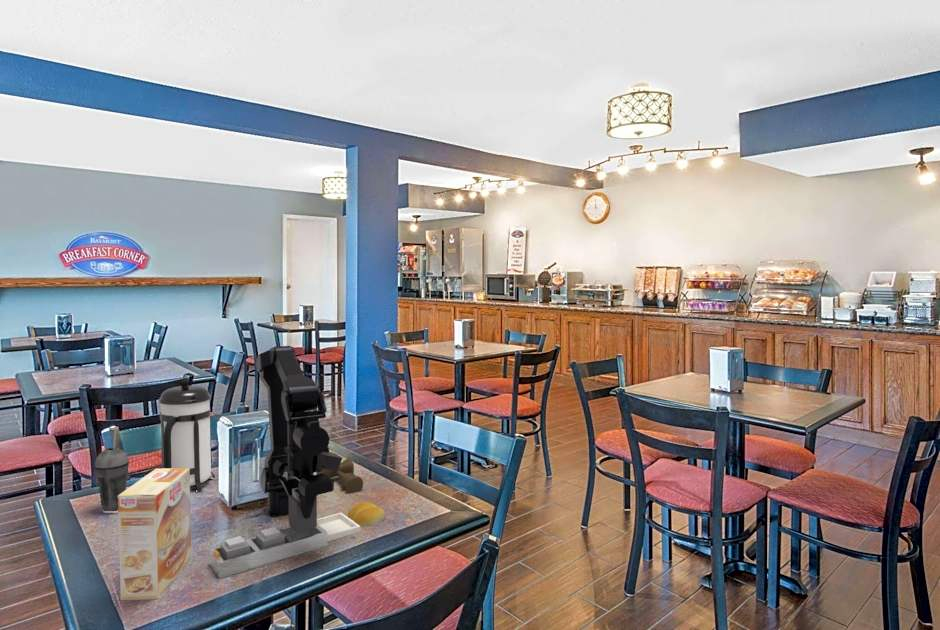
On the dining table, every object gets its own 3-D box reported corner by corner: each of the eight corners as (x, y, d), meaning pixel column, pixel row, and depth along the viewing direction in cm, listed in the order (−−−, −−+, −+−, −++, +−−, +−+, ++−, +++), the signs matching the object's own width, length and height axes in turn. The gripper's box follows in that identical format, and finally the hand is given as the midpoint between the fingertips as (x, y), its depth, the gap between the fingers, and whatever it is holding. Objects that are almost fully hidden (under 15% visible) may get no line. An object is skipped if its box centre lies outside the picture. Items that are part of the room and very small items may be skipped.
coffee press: (144, 486, 158) (141, 378, 156) (204, 472, 170) (202, 371, 168) (166, 504, 146) (163, 387, 144) (229, 488, 158) (227, 379, 156)
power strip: (209, 566, 115) (209, 546, 115) (313, 536, 129) (313, 518, 129) (219, 581, 110) (219, 560, 109) (327, 547, 123) (327, 529, 123)
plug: (288, 525, 124) (288, 488, 123) (308, 519, 127) (308, 484, 126) (296, 532, 120) (296, 494, 120) (316, 526, 123) (316, 490, 123)
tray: (302, 530, 132) (302, 522, 132) (341, 519, 138) (341, 512, 138) (320, 546, 124) (320, 537, 124) (360, 534, 130) (360, 526, 130)
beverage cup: (88, 513, 140) (86, 432, 139) (117, 502, 147) (114, 425, 145) (109, 518, 137) (106, 435, 136) (137, 507, 144) (135, 428, 143)
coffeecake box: (160, 601, 103) (157, 494, 101) (118, 603, 102) (114, 495, 101) (193, 560, 118) (191, 466, 116) (157, 561, 117) (154, 467, 116)
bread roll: (362, 532, 132) (362, 515, 131) (342, 519, 138) (342, 503, 138) (392, 522, 137) (392, 506, 137) (372, 510, 144) (372, 495, 144)
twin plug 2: (256, 553, 120) (255, 530, 119) (277, 547, 122) (276, 524, 122) (263, 562, 116) (263, 537, 116) (284, 555, 119) (284, 531, 119)
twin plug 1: (220, 564, 115) (220, 539, 115) (243, 557, 118) (242, 533, 118) (227, 572, 112) (226, 547, 111) (250, 566, 115) (250, 541, 114)
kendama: (337, 500, 151) (310, 476, 167) (371, 494, 157) (342, 471, 173) (338, 478, 151) (311, 456, 167) (372, 472, 156) (342, 451, 172)
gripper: (357, 446, 120) (357, 519, 121) (319, 427, 134) (319, 492, 136) (305, 456, 113) (306, 533, 114) (271, 435, 128) (272, 504, 129)
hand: (302, 514), depth 123 cm, fingers closed on plug, 4 cm apart
